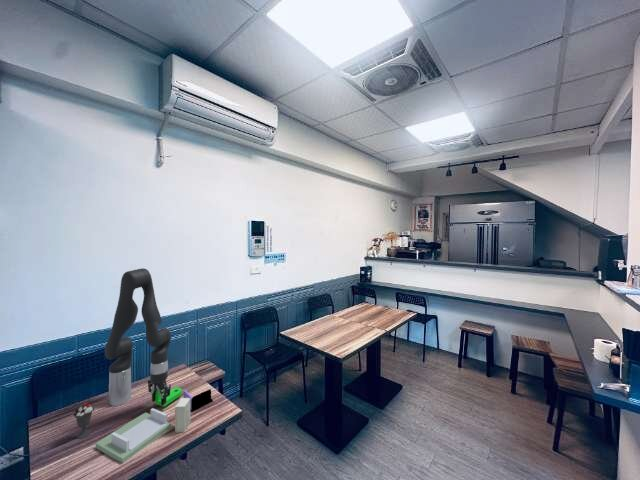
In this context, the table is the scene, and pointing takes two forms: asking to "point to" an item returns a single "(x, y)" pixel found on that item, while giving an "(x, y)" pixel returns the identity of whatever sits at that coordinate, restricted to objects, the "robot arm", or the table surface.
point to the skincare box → (182, 415)
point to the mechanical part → (173, 395)
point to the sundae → (83, 419)
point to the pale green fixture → (134, 435)
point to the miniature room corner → (198, 400)
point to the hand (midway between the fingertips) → (159, 402)
